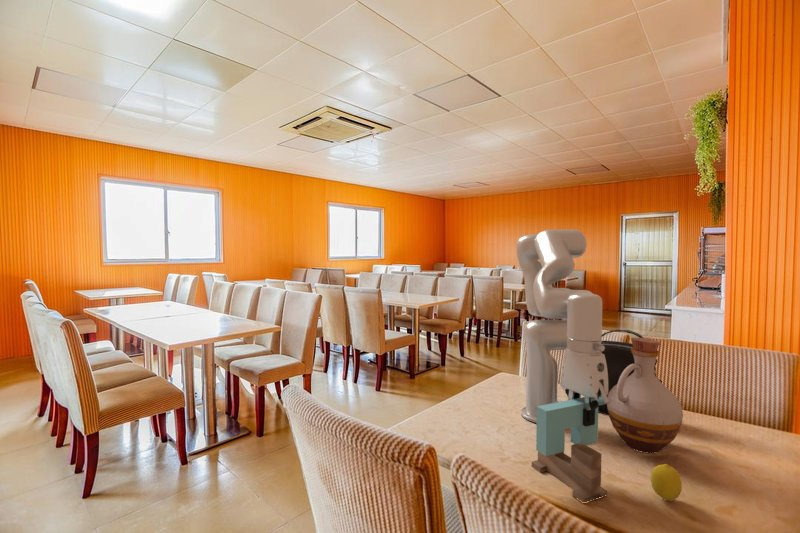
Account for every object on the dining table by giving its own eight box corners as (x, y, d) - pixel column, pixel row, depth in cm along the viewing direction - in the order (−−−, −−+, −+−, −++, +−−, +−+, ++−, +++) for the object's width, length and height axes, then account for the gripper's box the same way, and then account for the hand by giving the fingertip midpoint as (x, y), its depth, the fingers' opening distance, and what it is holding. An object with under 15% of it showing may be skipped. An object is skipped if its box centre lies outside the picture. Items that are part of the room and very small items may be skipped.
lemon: (644, 493, 88) (645, 458, 88) (667, 491, 89) (668, 457, 88) (663, 509, 83) (664, 472, 82) (687, 507, 83) (689, 470, 83)
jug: (649, 471, 97) (653, 350, 95) (587, 439, 113) (589, 336, 111) (696, 454, 105) (700, 342, 104) (632, 426, 121) (634, 330, 120)
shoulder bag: (662, 416, 129) (665, 331, 127) (661, 426, 121) (663, 336, 120) (587, 400, 142) (589, 323, 141) (582, 409, 135) (583, 327, 133)
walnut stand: (552, 460, 102) (553, 422, 101) (607, 496, 87) (608, 451, 87) (531, 466, 99) (532, 427, 99) (583, 504, 84) (584, 458, 84)
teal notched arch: (587, 437, 97) (588, 396, 97) (597, 442, 94) (598, 400, 94) (536, 450, 91) (536, 406, 90) (545, 456, 88) (546, 411, 88)
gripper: (626, 352, 87) (624, 433, 88) (568, 337, 102) (567, 407, 103) (602, 355, 84) (600, 439, 85) (546, 339, 99) (545, 411, 100)
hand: (582, 421), depth 94 cm, fingers closed on teal notched arch, 3 cm apart
